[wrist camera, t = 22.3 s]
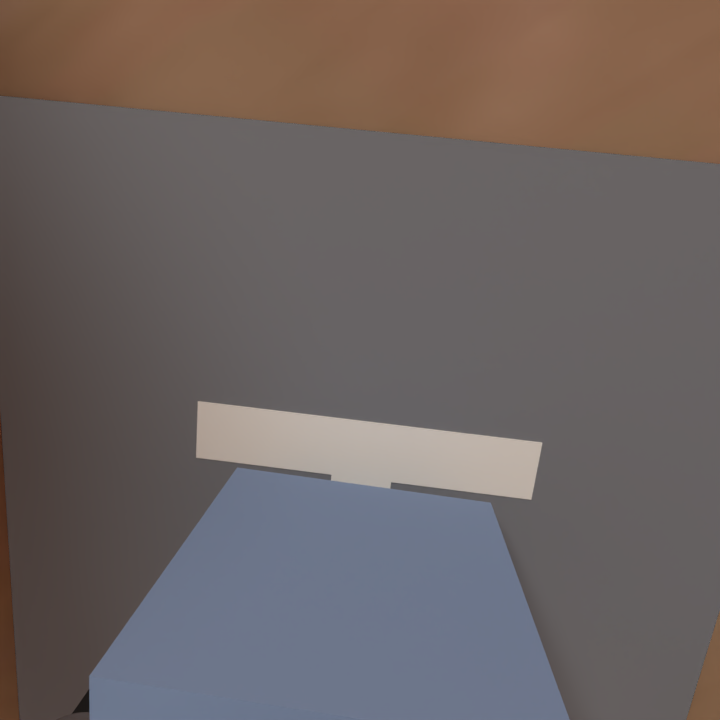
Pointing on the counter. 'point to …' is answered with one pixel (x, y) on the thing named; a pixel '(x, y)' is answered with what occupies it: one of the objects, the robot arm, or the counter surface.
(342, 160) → the letter mat
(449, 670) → the blue cube
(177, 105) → the counter surface
